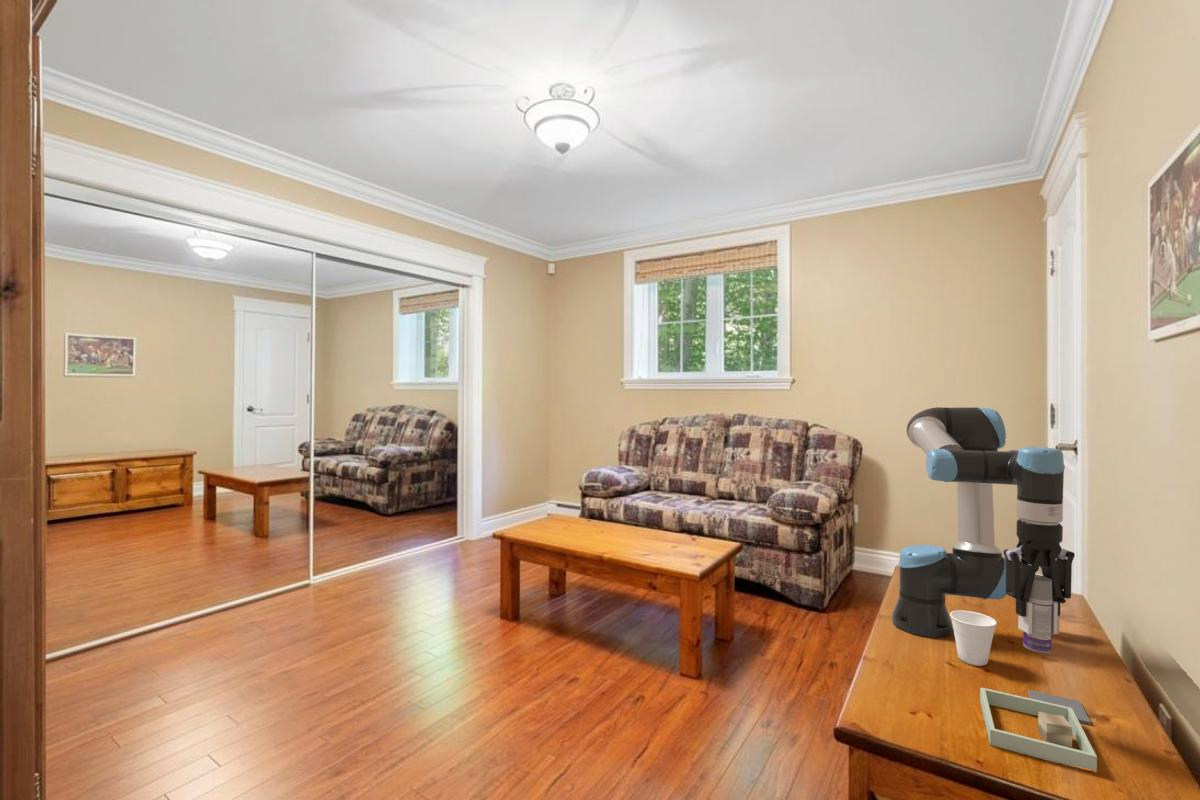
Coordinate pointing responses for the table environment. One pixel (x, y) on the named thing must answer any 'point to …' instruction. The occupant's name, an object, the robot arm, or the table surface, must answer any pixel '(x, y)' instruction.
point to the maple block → (1055, 729)
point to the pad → (1062, 704)
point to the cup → (973, 636)
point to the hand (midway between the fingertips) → (1037, 630)
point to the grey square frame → (1034, 746)
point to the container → (1040, 616)
